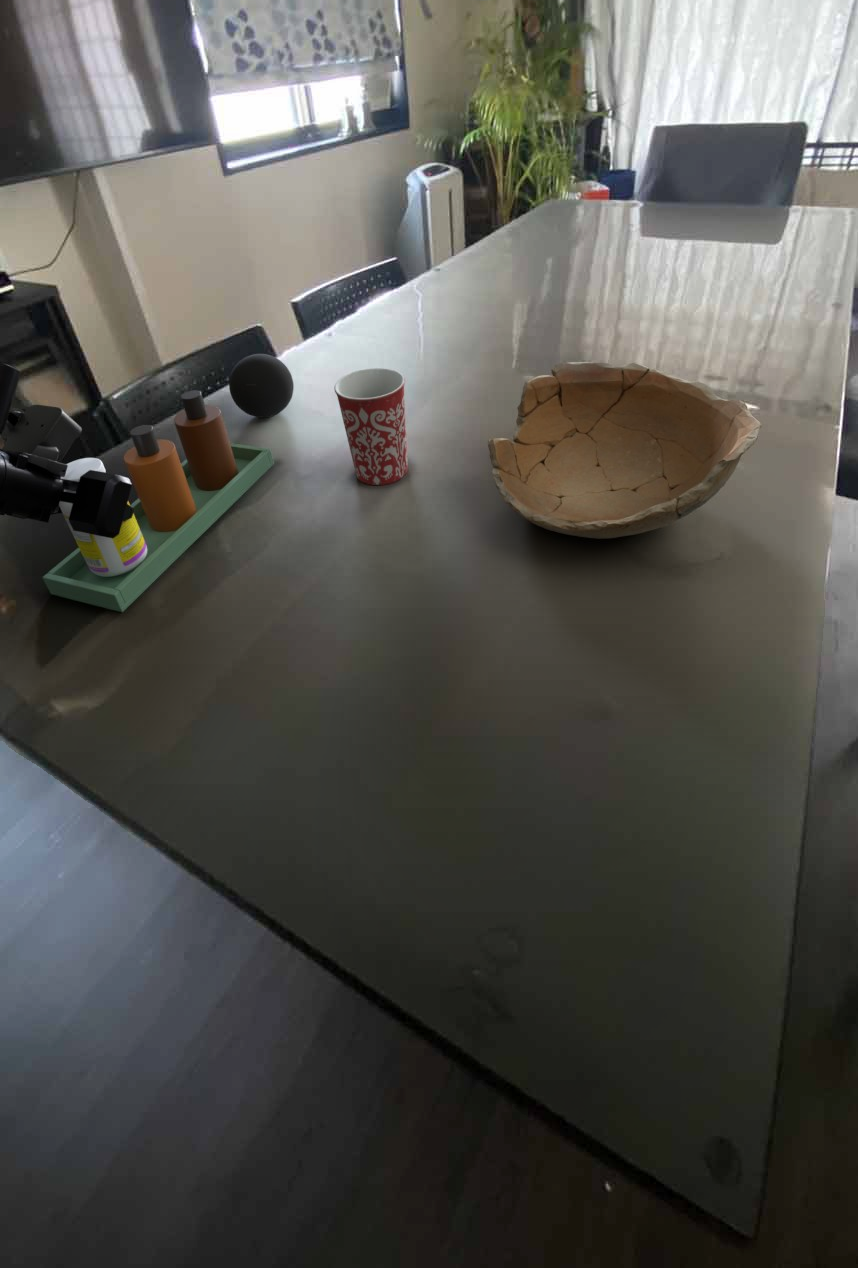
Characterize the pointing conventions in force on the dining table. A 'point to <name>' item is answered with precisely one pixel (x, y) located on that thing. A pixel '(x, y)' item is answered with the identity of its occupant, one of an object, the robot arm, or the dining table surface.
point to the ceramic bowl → (617, 449)
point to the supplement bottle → (104, 551)
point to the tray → (158, 539)
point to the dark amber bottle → (205, 443)
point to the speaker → (261, 385)
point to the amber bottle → (159, 480)
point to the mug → (375, 423)
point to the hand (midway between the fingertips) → (108, 508)
